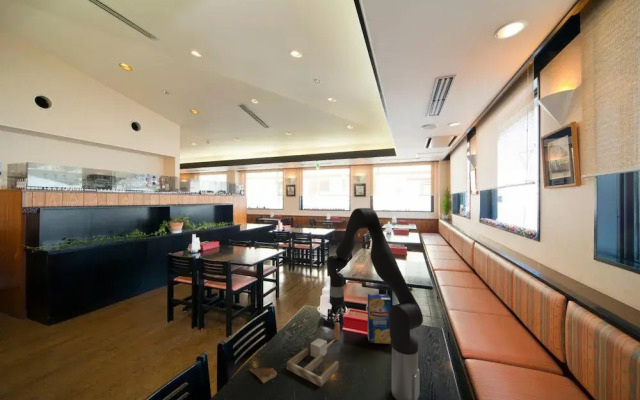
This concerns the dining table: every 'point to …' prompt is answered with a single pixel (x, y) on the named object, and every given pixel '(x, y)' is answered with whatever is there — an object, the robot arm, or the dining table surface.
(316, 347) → the corded block
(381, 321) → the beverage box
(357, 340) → the dining table surface
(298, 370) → the birch lanes
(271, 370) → the shard
